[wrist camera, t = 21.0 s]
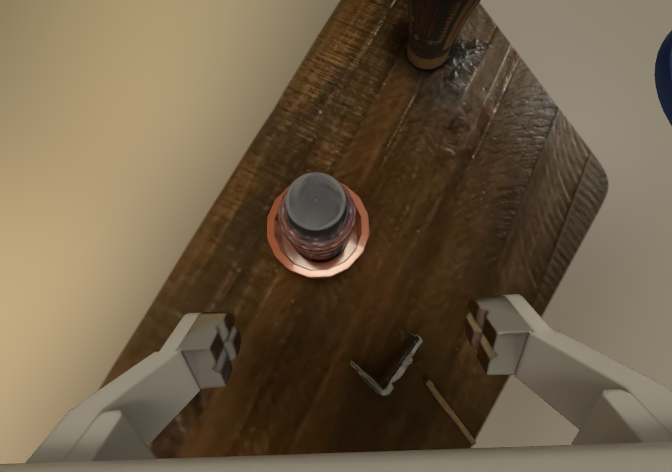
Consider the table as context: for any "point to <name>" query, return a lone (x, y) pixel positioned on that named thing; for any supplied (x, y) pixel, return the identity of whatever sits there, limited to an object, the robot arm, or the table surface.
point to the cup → (435, 29)
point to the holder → (310, 268)
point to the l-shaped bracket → (396, 373)
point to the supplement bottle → (317, 216)
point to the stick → (449, 411)
